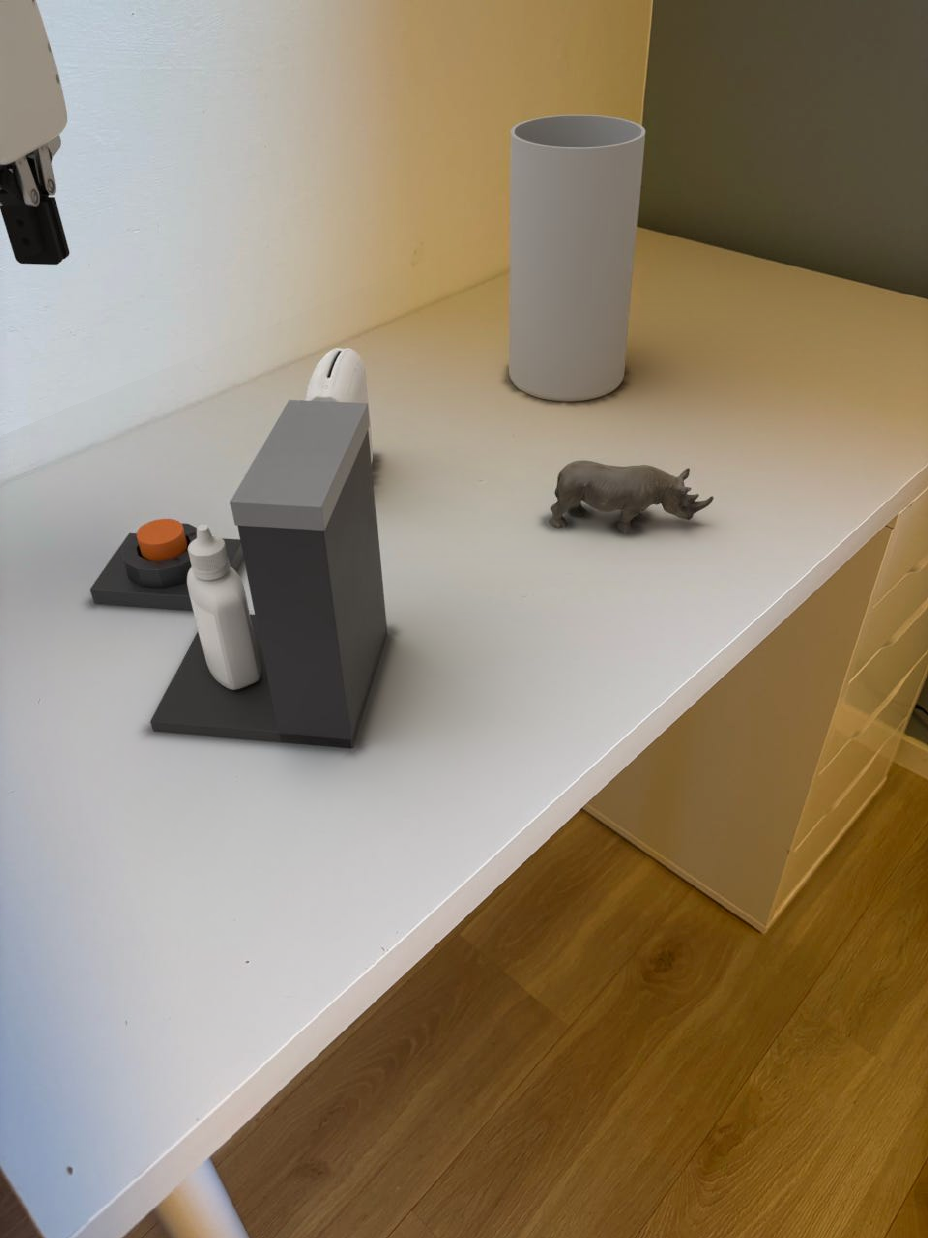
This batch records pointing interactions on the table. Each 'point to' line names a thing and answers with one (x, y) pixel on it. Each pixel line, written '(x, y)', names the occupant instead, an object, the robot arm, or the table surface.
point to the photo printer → (340, 380)
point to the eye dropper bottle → (221, 613)
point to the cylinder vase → (572, 253)
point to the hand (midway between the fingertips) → (43, 259)
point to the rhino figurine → (621, 492)
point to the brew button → (162, 539)
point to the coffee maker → (299, 589)
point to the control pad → (151, 576)
